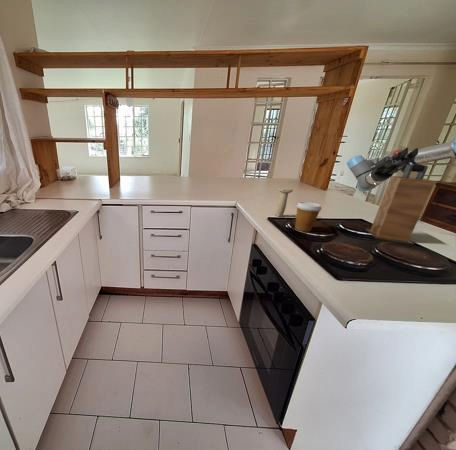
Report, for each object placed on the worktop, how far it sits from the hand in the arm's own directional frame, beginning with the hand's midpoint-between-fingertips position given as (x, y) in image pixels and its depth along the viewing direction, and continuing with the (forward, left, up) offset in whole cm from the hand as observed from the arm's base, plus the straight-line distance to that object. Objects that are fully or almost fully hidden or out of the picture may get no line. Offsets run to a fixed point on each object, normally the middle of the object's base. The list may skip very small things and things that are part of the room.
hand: (411, 151), depth 96 cm
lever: (+1, -2, -5) cm, 6 cm away
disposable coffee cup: (+25, +25, -36) cm, 51 cm away
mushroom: (+40, +12, -36) cm, 55 cm away
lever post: (-3, +7, -36) cm, 37 cm away
